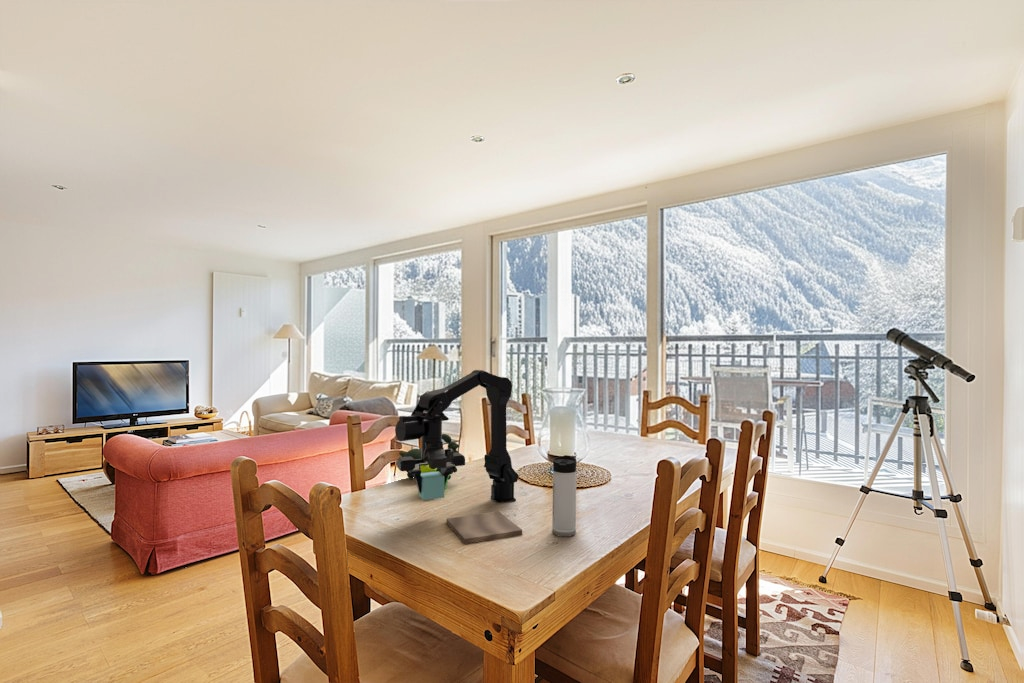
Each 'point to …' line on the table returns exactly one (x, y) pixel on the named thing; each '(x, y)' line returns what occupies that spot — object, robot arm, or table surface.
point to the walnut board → (483, 527)
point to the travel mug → (564, 496)
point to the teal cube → (432, 485)
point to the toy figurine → (417, 452)
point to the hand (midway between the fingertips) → (431, 491)
